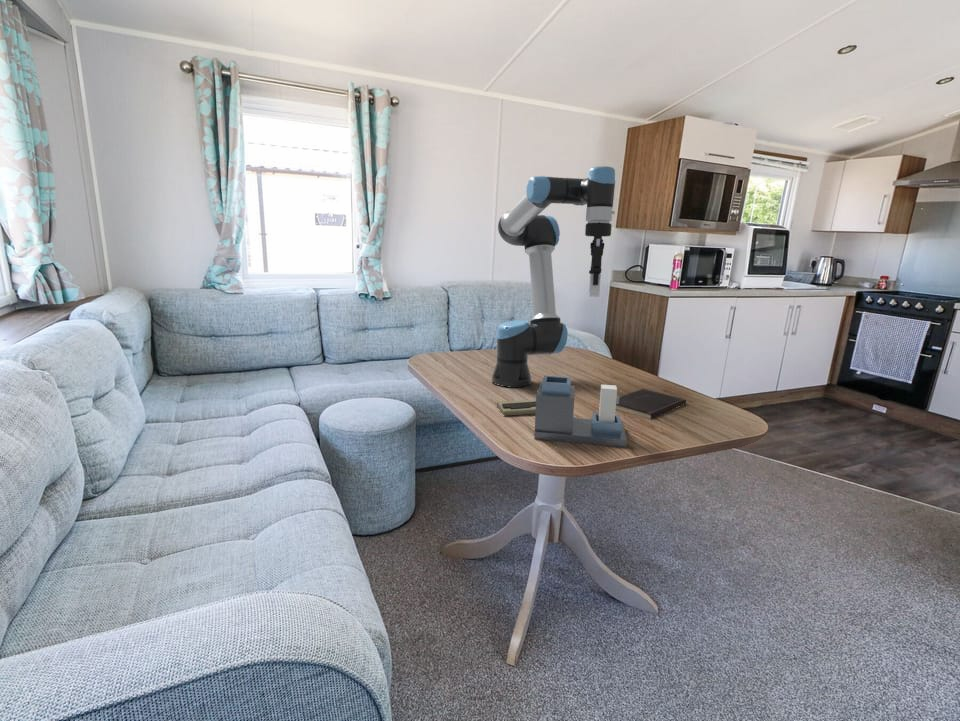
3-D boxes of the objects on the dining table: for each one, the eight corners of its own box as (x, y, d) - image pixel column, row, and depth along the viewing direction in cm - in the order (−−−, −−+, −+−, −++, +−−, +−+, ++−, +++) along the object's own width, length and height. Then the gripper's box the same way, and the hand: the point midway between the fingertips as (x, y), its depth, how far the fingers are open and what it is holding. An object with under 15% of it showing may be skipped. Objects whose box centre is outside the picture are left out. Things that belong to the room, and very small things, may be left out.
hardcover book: (606, 408, 159) (606, 401, 159) (642, 394, 174) (643, 388, 174) (651, 421, 148) (651, 414, 147) (686, 405, 163) (686, 399, 162)
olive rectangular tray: (503, 418, 148) (503, 407, 147) (496, 409, 156) (496, 400, 155) (551, 414, 152) (552, 404, 151) (542, 407, 159) (543, 397, 159)
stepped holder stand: (534, 438, 131) (536, 385, 128) (538, 421, 144) (540, 372, 141) (626, 447, 126) (631, 392, 123) (621, 428, 140) (626, 378, 136)
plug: (598, 430, 132) (601, 388, 129) (598, 425, 136) (601, 384, 133) (616, 432, 131) (620, 389, 129) (615, 427, 135) (619, 385, 132)
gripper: (614, 220, 131) (608, 298, 136) (609, 224, 155) (604, 291, 160) (586, 220, 133) (581, 297, 138) (585, 224, 157) (581, 290, 161)
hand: (593, 294), depth 149 cm, fingers open, 13 cm apart
